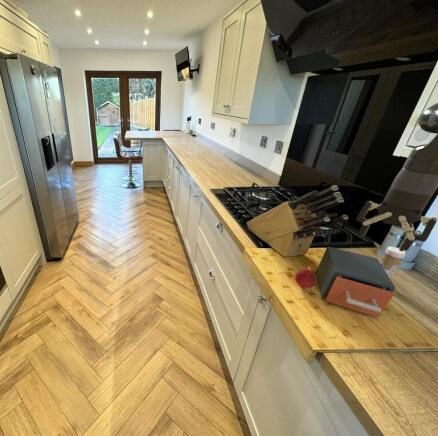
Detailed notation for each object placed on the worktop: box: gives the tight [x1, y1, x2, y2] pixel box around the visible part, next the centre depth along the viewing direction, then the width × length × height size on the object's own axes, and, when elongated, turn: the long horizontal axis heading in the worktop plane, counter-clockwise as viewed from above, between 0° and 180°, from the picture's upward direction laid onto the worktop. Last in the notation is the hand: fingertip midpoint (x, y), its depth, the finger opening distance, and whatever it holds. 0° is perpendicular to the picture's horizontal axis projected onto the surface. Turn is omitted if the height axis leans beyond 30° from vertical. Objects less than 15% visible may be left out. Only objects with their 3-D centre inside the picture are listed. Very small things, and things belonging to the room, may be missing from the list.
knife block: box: [246, 185, 349, 258], centre depth 95 cm, size 11×35×31 cm, turn 14°
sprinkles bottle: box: [379, 246, 407, 279], centre depth 80 cm, size 5×5×13 cm
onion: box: [294, 266, 317, 289], centre depth 77 cm, size 6×6×8 cm
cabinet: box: [315, 246, 396, 300], centre depth 76 cm, size 16×14×11 cm
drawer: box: [325, 274, 395, 319], centre depth 72 cm, size 20×13×9 cm, turn 152°
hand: (380, 243), depth 66 cm, fingers open, 8 cm apart
